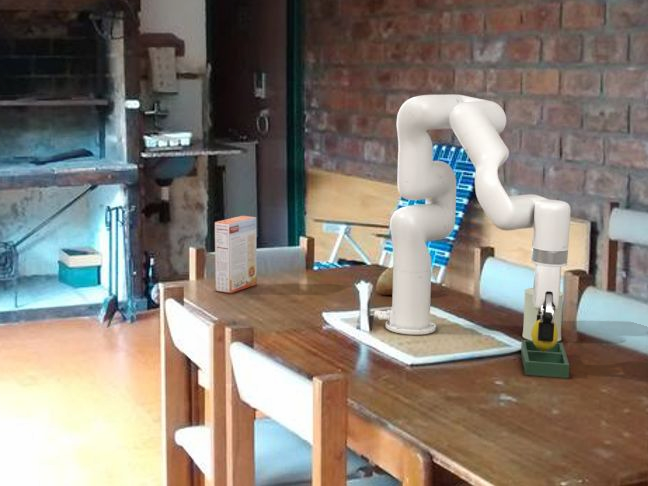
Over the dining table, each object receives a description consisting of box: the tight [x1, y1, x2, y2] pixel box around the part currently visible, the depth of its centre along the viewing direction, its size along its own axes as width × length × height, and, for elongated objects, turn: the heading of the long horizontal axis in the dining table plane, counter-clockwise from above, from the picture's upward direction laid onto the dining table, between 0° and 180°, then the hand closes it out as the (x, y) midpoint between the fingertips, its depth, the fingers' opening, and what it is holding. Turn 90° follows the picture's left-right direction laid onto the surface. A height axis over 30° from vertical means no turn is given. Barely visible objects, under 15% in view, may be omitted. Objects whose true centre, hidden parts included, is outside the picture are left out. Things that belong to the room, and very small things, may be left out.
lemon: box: [532, 319, 558, 352], centre depth 224 cm, size 6×6×8 cm
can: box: [522, 287, 564, 343], centre depth 250 cm, size 9×9×12 cm
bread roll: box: [375, 266, 393, 296], centre depth 295 cm, size 10×15×8 cm, turn 113°
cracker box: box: [214, 215, 258, 294], centre depth 300 cm, size 14×6×21 cm, turn 144°
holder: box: [520, 339, 570, 379], centre depth 228 cm, size 9×17×3 cm, turn 167°
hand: (544, 335), depth 224 cm, fingers closed on lemon, 5 cm apart
